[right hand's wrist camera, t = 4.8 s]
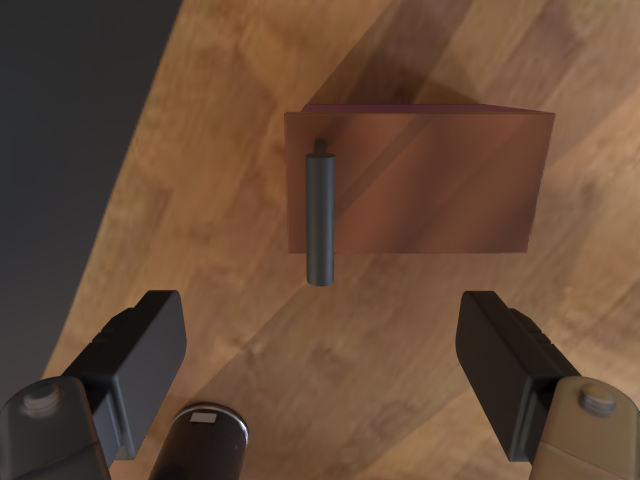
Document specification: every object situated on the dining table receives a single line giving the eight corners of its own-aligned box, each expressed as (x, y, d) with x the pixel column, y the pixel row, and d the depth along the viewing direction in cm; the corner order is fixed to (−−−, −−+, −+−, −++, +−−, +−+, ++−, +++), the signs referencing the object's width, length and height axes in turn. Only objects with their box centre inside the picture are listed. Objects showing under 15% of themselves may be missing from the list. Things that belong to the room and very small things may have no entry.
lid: (289, 247, 29) (277, 310, 21) (285, 111, 25) (269, 124, 17) (519, 247, 29) (596, 311, 21) (546, 111, 25) (651, 124, 17)
